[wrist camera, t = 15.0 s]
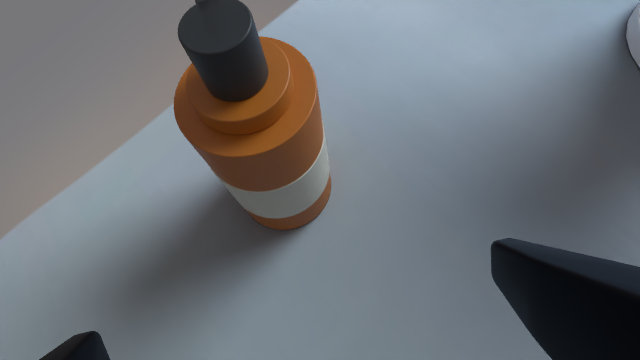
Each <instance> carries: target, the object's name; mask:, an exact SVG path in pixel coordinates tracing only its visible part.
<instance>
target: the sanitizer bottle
mask: <svg viewBox="0 0 640 360" xmlns="http://www.w3.org/2000/svg"><path fill="white" fill-rule="evenodd" d="M195 2H196V5H194V6H193V7H191V8H190V9H189V10H188V11H187V12H186V13H185V14H184V16H183V17H182V19H181V21H180V23H179V27H178V37H179V40H180V42H181V44H182V46H183V48H184V49H185V51H186V53H187V54H188V56H189V58H190V60H191V61H192V64H191V65H190V66H189V67H188V68H187V70H186V71H185V73H184V74H183V76H182V77H181V80H180V81H179V83H178V86H177V89H176V92H175V97H174V113H175V118H176V121H177V124H178V126H179V128H180V130H181V132H182V133H183V134H184V136H185V137H186V138H187V140H188V141H189V142H190V143H191V144H192V146H193V147H194V148H195V149H196V150H197V152H198V153H199V154H200V155H201V156H202V158H203V159H204V160H205V161H206V162H207V164H208V165H209V166H210V168H211V169H212V171H213V172H214V174H215V175H216V176H217V177H218V179H219V180H220V181H221V182H222V183H223V185H224V186H225V187H226V188H227V189H228V191H229V192H230V193H231V194H232V195H233V196H234V198H235V199H236V200H237V201H238V202H239V203H240V204H241V206H242V207H244V208H245V209H246V211H247V212H248V213H249V214H250V215H251V216H252V217H253V219H255V220H256V221H257V222H258V223H260V224H262V225H264V226H266V227H269V228H272V229H278V230H289V229H294V228H298V227H301V226H303V225H305V224H307V223H309V222H311V221H312V220H313V219H315V218H316V217H317V216H318V215H319V214H320V213H321V211H322V210H323V209H324V207H325V205H326V204H327V201H328V199H329V196H330V191H331V179H330V172H329V159H328V152H327V144H326V137H325V130H324V124H323V121H322V117H321V110H320V103H319V96H318V89H317V82H316V77H315V74H314V71H313V69H312V67H311V65H310V63H309V62H308V60H307V59H306V58H305V57H304V56H303V55H302V54H301V53H300V52H299V51H298V50H297V49H295V48H294V47H293V46H291V45H289V44H287V43H285V42H282V41H280V40H277V39H273V38H268V37H259V36H258V33H257V30H256V27H255V23H254V20H253V17H252V14H251V12H250V10H249V9H248V7H247V6H246V5H245V4H243V3H242V2H240V1H239V0H195Z"/></svg>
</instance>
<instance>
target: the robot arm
mask: <svg viewBox="0 0 640 360" xmlns="http://www.w3.org/2000/svg"><path fill="white" fill-rule="evenodd" d="M491 272H492V277H493V280H494V282H495V283H496V285H497V286H498V288H499V289H500V291H501V292H502V293H503V295H504V296H505V298H506V299H507V301H508V302H509V304H510V305H511V306H512V308H513V309H514V311H515V312H516V314H517V315H518V317H519V318H520V319H521V321H522V322H523V324H524V325H525V327H526V328H527V329H528V331H529V332H530V333H531V335H532V336H533V337H534V339H535V340H536V341H537V342H538V343H539V345H540V346H541V347H542V348H543V349H544V351H545V352H546V353H547V354H548V355H549V356H550V358H551V359H552V360H640V267H637V266H633V265H629V264H624V263H620V262H615V261H611V260H606V259H602V258H597V257H593V256H588V255H584V254H580V253H575V252H571V251H566V250H562V249H557V248H553V247H548V246H544V245H539V244H535V243H531V242H526V241H522V240H517V239H513V238H506V239H502V240H497V241H494V242H493V243H492V245H491ZM39 360H110V358H109V355H108V353H107V350H106V348H105V346H104V343H103V341H102V338H101V336H100V334H99V333H98V332H96V331H90V332H85V333H81V334H77V335H74V336H72V337H71V338H70V339H68V340H67V341H65V342H64V343H62V344H61V345H59V346H58V347H57V348H55V349H54V350H52V351H51V352H49V353H48V354H47V355H45V356H44V357H42V358H41V359H39Z"/></svg>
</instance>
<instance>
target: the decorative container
mask: <svg viewBox="0 0 640 360" xmlns="http://www.w3.org/2000/svg"><path fill="white" fill-rule="evenodd" d="M626 38H627V42H628V45H629V49H630V53H631V55H632V56H633V58H634V60H635V61H636V63H637V64H638V66H639V67H640V3H639V4H638V5H637V6H636V8H635V9H634V11H633V13H632V15H631V16H630V18H629V20H628V24H627V33H626Z"/></svg>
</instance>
